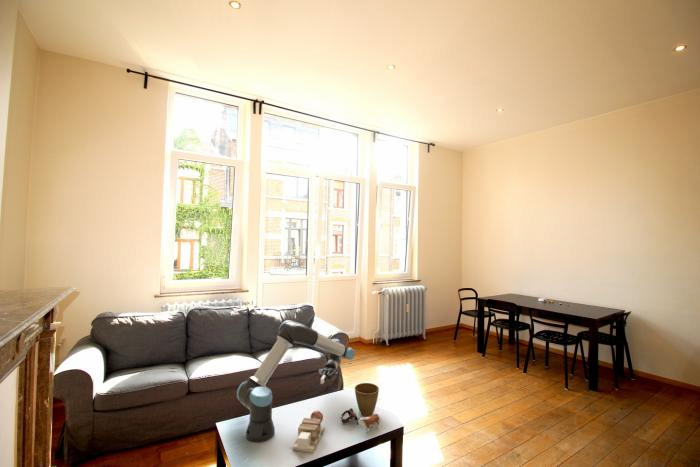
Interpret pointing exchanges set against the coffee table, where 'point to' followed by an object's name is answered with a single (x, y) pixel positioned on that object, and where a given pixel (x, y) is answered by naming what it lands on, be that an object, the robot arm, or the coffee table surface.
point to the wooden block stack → (316, 416)
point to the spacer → (304, 440)
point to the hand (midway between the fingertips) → (321, 381)
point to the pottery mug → (351, 416)
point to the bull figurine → (369, 421)
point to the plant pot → (366, 398)
